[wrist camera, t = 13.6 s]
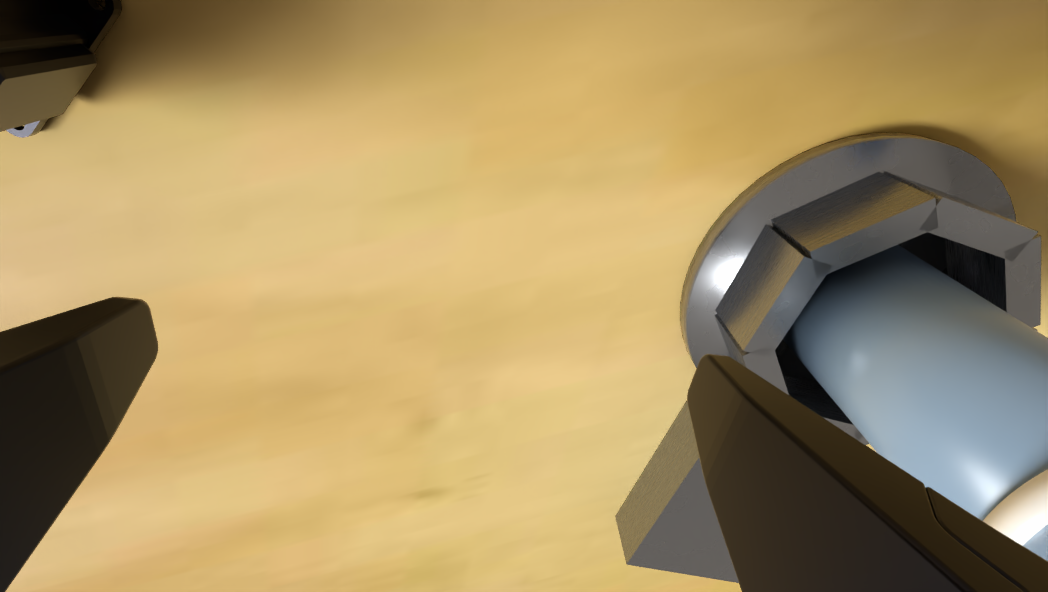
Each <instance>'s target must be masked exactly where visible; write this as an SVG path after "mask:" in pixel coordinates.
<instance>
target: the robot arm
mask: <svg viewBox="0 0 1048 592" xmlns="http://www.w3.org/2000/svg"><path fill="white" fill-rule="evenodd" d="M105 4H106V5H105V9H103V8H101V7H100V6H99V5H98V3H97V1H96V0H0V132H1V131H5V130H6V131H8V132H9V133H11V134H13V135H15V136H17V137H22V138H23V137H28V136H32V135H35V134H37V133H38V132H39V131H40V130H41V129H42V127H43V126H44V124H45V123H46V121H47V120H48V119H49V118H51V117H55V116H58V115H61V114H63V113H64V111H65V110H66V108H67V107H68V106H69V104H70V103H71V101H72V100H73V98H74V97H75V96H76V94H77V93H78V91H79V90H80V88H81V87H82V85H83V84H84V83H85V81H86V80H87V78H88V77H89V75H90V74H91V72H92V71H93V70H94V68H95V67H96V65H97V60H96V54H94V51H95V50H96V49H97V47H98V46H99V44H100V43H101V41H102V40H103V38H104V37H105V35H106V34H107V32H108V31H109V30H110V28H111V27H112V25H113V24H114V22H115V21H116V19H117V18H118V16H119V15H120V13H121V10H122V6H121V1H120V0H105ZM22 125H25V126H22ZM157 352H158V341H157V337H156V333H155V328H154V324H153V320H152V316H151V311H150V308H149V306H148V304H147V303H146V302H145V301H143V300H141V299H134V298H124V297H112V298H108V299H105V300H102V301H98V302H95V303H92V304H89V305H85V306H82V307H79V308H76V309H73V310H69V311H66V312H63V313H60V314H57V315H53V316H50V317H47V318H44V319H41V320H37V321H34V322H31V323H28V324H25V325H21V326H18V327H15V328H12V329H9V330H5V331H2V332H0V592H5V591H6V590H7V588H8V587H9V586H10V584H11V583H12V581H13V580H14V578H15V577H16V576H17V574H18V573H19V571H20V570H21V568H22V567H23V566H24V564H25V563H26V561H27V560H28V558H29V557H30V556H31V554H32V553H33V551H34V550H35V548H36V547H37V546H38V544H39V543H40V541H41V540H42V538H43V537H44V536H45V534H46V533H47V531H48V530H49V528H50V527H51V526H52V524H53V523H54V521H55V520H56V518H57V517H58V516H59V514H60V513H61V511H62V510H63V509H64V507H65V506H66V504H67V503H68V501H69V500H70V499H71V497H72V496H73V494H74V493H75V491H76V490H77V489H78V487H79V486H80V484H81V483H82V481H83V480H84V479H85V477H86V476H87V474H88V473H89V471H90V470H91V469H92V467H93V466H94V464H95V463H96V461H97V460H98V459H99V457H100V456H101V454H102V453H103V451H104V450H105V448H106V447H107V445H108V444H109V442H110V440H111V439H112V437H113V435H114V434H115V432H116V430H117V429H118V427H119V425H120V423H121V421H122V420H123V418H124V416H125V414H126V412H127V410H128V409H129V407H130V405H131V403H132V401H133V399H134V398H135V396H136V394H137V392H138V390H139V388H140V387H141V385H142V383H143V381H144V379H145V377H146V376H147V374H148V372H149V370H150V368H151V366H152V365H153V363H154V361H155V359H156V356H157ZM687 403H688V408H689V413H690V417H691V422H692V426H693V431H694V436H695V440H696V445H697V449H698V454H699V458H700V463H701V468H702V472H703V476H704V479H705V483H706V486H707V489H708V493H709V496H710V499H711V502H712V505H713V508H714V511H715V513H716V516H717V519H718V522H719V525H720V528H721V531H722V534H723V537H724V540H725V543H726V546H727V549H728V552H729V555H730V558H731V561H732V564H733V566H734V569H735V572H736V575H737V578H738V581H739V584H740V587H741V590H742V592H1048V561H1047V560H1045V559H1044V558H1042V557H1040V556H1039V555H1037V554H1035V553H1034V552H1032V551H1030V550H1029V549H1027V548H1025V547H1024V546H1022V545H1020V544H1019V543H1017V542H1015V541H1014V540H1012V539H1011V538H1009V537H1007V536H1006V535H1004V534H1002V533H1001V532H999V531H997V530H996V529H994V528H993V527H991V526H989V525H988V524H986V523H985V522H983V521H982V520H980V519H978V518H977V517H975V516H974V515H972V514H971V513H969V512H967V511H966V510H964V509H963V508H961V507H960V506H958V505H956V504H955V503H953V502H952V501H950V500H949V499H947V498H946V497H944V496H943V495H941V494H940V493H938V492H937V491H935V490H934V489H932V488H930V487H925V485H924V483H923V482H921V481H919V480H918V479H916V478H915V477H913V476H912V475H910V474H909V473H907V472H906V471H904V470H903V469H901V468H900V467H898V466H896V465H895V464H893V463H892V462H890V461H889V460H887V459H886V458H884V457H883V456H881V455H880V454H878V453H877V452H875V451H873V450H872V449H870V448H869V447H867V446H866V445H864V444H863V443H861V442H860V441H858V440H857V439H855V438H854V437H852V436H851V435H849V434H847V433H846V432H844V431H843V430H841V429H840V428H838V427H837V426H835V425H834V424H832V423H831V422H829V421H828V420H826V419H824V418H823V417H821V416H820V415H818V414H817V413H815V412H814V411H812V410H811V409H809V408H808V407H806V406H805V405H803V404H801V403H800V402H798V401H797V400H795V399H794V398H792V397H791V396H789V395H788V394H786V393H785V392H783V391H782V390H780V389H779V388H777V387H775V386H774V385H772V384H771V383H769V382H768V381H766V380H765V379H763V378H762V377H760V376H759V375H757V374H756V373H754V372H752V371H751V370H749V369H748V368H746V367H745V366H743V365H742V364H740V363H739V362H737V361H736V360H734V359H733V358H731V357H729V356H726V355H717V354H706V355H704V356H703V357H702V358H701V359H700V361H699V364H698V366H697V369H696V372H695V374H694V377H693V379H692V382H691V385H690V387H689V390H688V395H687Z"/></svg>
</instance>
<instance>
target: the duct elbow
mask: <svg viewBox="0 0 1048 592" xmlns="http://www.w3.org/2000/svg"><path fill="white" fill-rule="evenodd" d="M783 340H784V342H785V343H786V344H787V345H788V346H789V348H790V349H791V350H792V351H793V352H794V354H795V355H796V356H797V357H798V358H799V360H800V361H801V362H802V363H803V364H804V366H805V367H806V368H807V369H808V370H809V372H810V373H811V374H812V375H813V376H814V378H815V379H816V380H817V381H818V382H819V384H820V385H821V386H822V387H823V388H824V390H825V391H826V392H827V393H828V394H829V396H830V397H831V398H832V399H833V400H834V402H835V403H836V404H837V405H838V406H839V408H840V409H841V410H842V411H843V412H844V414H845V415H846V416H847V417H848V418H849V420H850V421H851V422H852V423H853V424H854V426H855V427H856V428H857V429H858V430H859V432H860V433H861V434H862V435H863V436H864V438H865V439H866V440H867V441H868V442H869V444H870V445H871V446H872V447H873V448H874V450H875V451H876V452H877V453H878V454H880V455H881V456H883V457H884V458H886V459H887V460H889V461H890V462H892V463H893V464H895V465H896V466H898V467H900V468H901V469H903V470H904V471H906V472H907V473H909V474H910V475H912V476H913V477H915V478H916V479H918V480H919V481H921V482H923V483H924V485H925V487H930V488H932V489H934V490H935V491H937V492H938V493H940V494H941V495H943V496H944V497H946V498H947V499H949V500H950V501H952V502H953V503H955V504H956V505H958V506H960V507H961V508H963V509H964V510H966V511H967V512H969V513H971V514H972V515H974V516H975V517H977V518H978V519H980V520H982V521H983V522H985V523H986V524H988V525H989V526H991V527H993V528H994V529H996V530H997V531H999V532H1001V533H1002V534H1004V535H1006V536H1007V537H1009V538H1011V539H1012V540H1014V541H1015V542H1017V543H1019V544H1020V545H1022V546H1024V547H1025V548H1027V549H1029V550H1030V551H1032V552H1034V553H1035V554H1037V555H1039V556H1040V557H1042V558H1044V559H1045V560H1047V561H1048V338H1047V337H1045V336H1044V335H1042V334H1040V333H1039V332H1037V331H1036V330H1034V329H1032V328H1031V327H1029V326H1028V325H1026V324H1024V323H1023V322H1021V321H1020V320H1018V319H1016V318H1015V317H1013V316H1012V315H1010V314H1008V313H1007V312H1005V311H1003V310H1002V309H1000V308H999V307H997V306H995V305H994V304H992V303H991V302H989V301H987V300H986V299H984V298H983V297H981V296H979V295H978V294H976V293H975V292H973V291H971V290H970V289H968V288H967V287H965V286H963V285H962V284H960V283H959V282H957V281H955V280H954V279H952V278H950V277H949V276H947V275H946V274H944V273H942V272H941V271H939V270H938V269H936V268H934V267H933V266H931V265H930V264H928V263H926V262H925V261H923V260H922V259H920V258H918V257H917V256H915V255H914V254H912V253H910V252H909V251H907V250H906V249H904V248H902V247H901V246H899V245H896V246H893V247H891V248H888V249H886V250H884V251H881V252H879V253H876V254H874V255H872V256H869V257H867V258H864V259H862V260H860V261H857V262H855V263H853V264H850V265H848V266H845V267H843V268H841V269H838V270H836V271H833V272H831V273H829V274H827V275H826V276H825V278H824V279H823V281H822V282H821V283H820V285H819V286H818V288H817V289H816V291H815V292H814V294H813V295H812V297H811V298H810V300H809V301H808V303H807V304H806V306H805V307H804V308H803V310H802V311H801V313H800V314H799V316H798V317H797V319H796V320H795V322H794V323H793V325H792V326H791V328H790V329H789V331H788V332H787V333H786V335H785V336H784V338H783Z"/></svg>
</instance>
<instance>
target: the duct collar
mask: <svg viewBox="0 0 1048 592" xmlns="http://www.w3.org/2000/svg"><path fill="white" fill-rule="evenodd" d="M1037 233H1038V231H1035V230H1033V229H1031V228H1028V227H1026V226H1024V225H1022V224H1019V223H1017V222H1016V217H1015V212H1014V208H1013V205H1012V202H1011V198H1010V196H1009V194H1008V192H1007V191H1006V189H1005V187H1004V185H1003V183H1002V181H1001V180H1000V179H999V178H998V177H997V176H996V174H995V173H994V172H993V171H992V170H991V169H990V168H989V167H988V166H987V165H985V164H984V163H983V162H982V161H980V160H979V159H978V158H976V157H975V156H973V155H971V154H969V153H967V152H965V151H963V150H961V149H959V148H957V147H954V146H951V145H948V144H945V143H942V142H939V141H936V140H932V139H929V138H925V137H922V136H919V135H911V134H903V133H871V134H864V135H858V136H851V137H847V138H843V139H840V140H836V141H832V142H829V143H825V144H823V145H820V146H818V147H815V148H813V149H810V150H808V151H805V152H803V153H801V154H799V155H797V156H795V157H793V158H792V159H790V160H788V161H786V162H784V163H782V164H780V165H779V166H777V167H776V168H774V169H773V170H771V171H770V172H768V173H767V174H765V175H764V176H762V177H761V178H759V179H758V180H757V181H756V182H754V183H753V184H752V185H751V186H750V187H748V188H747V189H746V190H745V191H744V192H742V193H741V194H740V195H739V196H738V197H737V198H736V199H735V200H734V201H733V202H732V203H731V204H730V205H729V206H728V207H727V208H726V209H725V211H724V212H723V213H722V214H721V215H720V217H719V218H718V219H717V220H716V222H715V223H714V224H713V226H712V227H711V228H710V229H709V231H708V232H707V234H706V236H705V237H704V239H703V241H702V242H701V244H700V245H699V247H698V249H697V251H696V253H695V255H694V257H693V260H692V262H691V264H690V266H689V269H688V272H687V275H686V278H685V282H684V285H683V290H682V296H681V302H680V323H681V330H682V336H683V339H684V342H685V346H686V349H687V351H688V353H689V355H690V357H691V359H692V361H693V363H694V364H695V366H696V368H697V366H698V364H699V361H700V359H701V358H702V357H703V356H704V355H706V354H717V355H726V356H729V357H731V358H733V359H734V360H736V361H737V362H739V363H740V364H742V365H743V366H745V367H746V368H748V369H749V370H751V371H752V372H754V373H756V374H757V375H759V376H760V377H762V378H763V379H765V380H766V381H768V382H769V383H771V384H772V385H774V386H775V387H777V388H779V389H780V390H782V391H783V392H785V393H786V394H788V395H789V396H791V397H792V398H794V399H795V400H797V401H798V402H800V403H801V404H803V405H805V406H806V407H808V408H809V409H811V410H812V411H814V412H815V413H817V414H818V415H820V416H821V417H823V418H824V419H826V420H828V421H829V422H831V423H832V424H834V425H835V426H837V427H838V428H840V429H841V430H843V431H844V432H846V433H847V434H849V435H851V436H852V437H854V438H855V439H857V440H858V441H860V442H861V443H863V444H864V445H867V444H869V442H868V441H867V440H866V439H865V438H864V436H863V435H862V434H861V433H860V432H859V430H858V429H857V428H856V427H855V426H854V424H853V423H852V422H851V421H850V420H849V418H848V417H847V416H846V415H845V414H844V412H843V411H842V410H841V409H840V408H839V406H838V405H837V404H836V403H835V402H834V400H833V399H832V398H831V397H830V396H829V394H828V393H827V392H826V391H825V390H824V388H823V387H822V386H821V385H820V384H819V382H818V381H817V380H816V379H815V378H814V376H813V375H812V374H811V373H810V372H809V370H808V369H807V368H806V367H805V366H804V364H803V363H802V362H801V361H800V360H799V358H798V357H797V356H796V355H795V354H794V352H793V351H792V350H791V349H790V348H789V346H788V345H787V344H786V343H785V342H784V340H783V338H784V336H785V335H786V333H787V332H788V331H789V329H790V328H791V326H792V325H793V323H794V322H795V320H796V319H797V317H798V316H799V314H800V313H801V311H802V310H803V308H804V307H805V306H806V304H807V303H808V301H809V300H810V298H811V297H812V295H813V294H814V292H815V291H816V289H817V288H818V286H819V285H820V283H821V282H822V281H823V279H824V278H825V276H826V275H827V274H829V273H831V272H833V271H836V270H838V269H841V268H843V267H845V266H848V265H850V264H853V263H855V262H857V261H860V260H862V259H864V258H867V257H869V256H872V255H874V254H876V253H879V252H881V251H884V250H886V249H888V248H891V247H893V246H896V245H899V246H901V247H902V248H904V249H906V250H907V251H909V252H910V253H912V254H914V255H915V256H917V257H918V258H920V259H922V260H923V261H925V262H926V263H928V264H930V265H931V266H933V267H934V268H936V269H938V270H939V271H941V272H942V273H944V274H946V275H947V276H949V277H950V278H952V279H954V280H955V281H957V282H959V283H960V284H962V285H963V286H965V287H967V288H968V289H970V290H971V291H973V292H975V293H976V294H978V295H979V296H981V297H983V298H984V299H986V300H987V301H989V302H991V303H992V304H994V305H995V306H997V307H999V308H1000V309H1002V310H1003V311H1005V312H1007V313H1008V314H1010V315H1012V316H1013V317H1015V318H1016V319H1018V320H1020V321H1021V322H1023V323H1024V324H1026V325H1028V326H1029V327H1031V328H1032V329H1034V330H1036V331H1037V329H1035V328H1034V327H1035V326H1038V325H1040V311H1041V236H1040V235H1038V234H1037ZM616 521H617V525H618V529H619V534H620V538H621V542H622V547H623V551H624V555H625V560H626V564H627V565H633V566H639V567H646V568H652V569H658V570H664V571H670V572H676V573H682V574H688V575H694V576H700V577H706V578H712V579H718V580H724V581H730V582H737V583H739V581H738V578H737V575H736V572H735V569H734V566H733V564H732V561H731V558H730V555H729V552H728V549H727V546H726V543H725V540H724V537H723V534H722V531H721V528H720V525H719V522H718V519H717V516H716V513H715V511H714V508H713V505H712V502H711V499H710V496H709V493H708V489H707V486H706V483H705V479H704V476H703V472H702V468H701V463H700V458H699V454H698V449H697V445H696V440H695V436H694V431H693V426H692V422H691V417H690V413H689V408H688V403H687V402H686V403H685V405H684V406H683V408H682V410H681V411H680V413H679V414H678V416H677V418H676V419H675V421H674V423H673V424H672V426H671V427H670V429H669V431H668V432H667V434H666V436H665V437H664V439H663V440H662V442H661V444H660V445H659V447H658V449H657V450H656V452H655V453H654V455H653V457H652V458H651V460H650V461H649V463H648V465H647V466H646V468H645V470H644V471H643V473H642V474H641V476H640V478H639V479H638V481H637V483H636V484H635V486H634V487H633V489H632V491H631V492H630V494H629V496H628V497H627V499H626V500H625V502H624V504H623V505H622V507H621V508H620V510H619V512H618V513H617V515H616Z"/></svg>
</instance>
